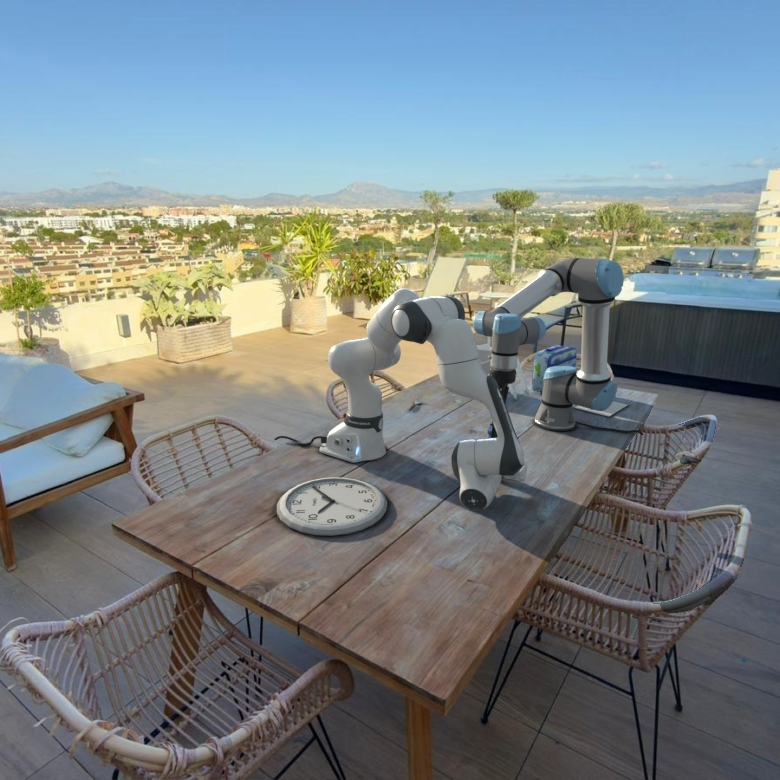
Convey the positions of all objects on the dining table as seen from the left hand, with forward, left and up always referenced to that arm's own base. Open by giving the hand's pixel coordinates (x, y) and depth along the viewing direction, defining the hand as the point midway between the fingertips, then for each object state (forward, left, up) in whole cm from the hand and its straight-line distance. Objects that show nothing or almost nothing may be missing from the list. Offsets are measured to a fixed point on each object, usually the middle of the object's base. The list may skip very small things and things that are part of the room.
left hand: (496, 456), depth 160 cm
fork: (-44, +51, -6) cm, 68 cm away
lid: (0, -1, +9) cm, 9 cm away
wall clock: (-37, -37, -6) cm, 52 cm away
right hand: (0, -1, +5) cm, 5 cm away
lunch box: (+7, +100, -6) cm, 101 cm away
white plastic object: (-24, +82, -6) cm, 86 cm away
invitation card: (+29, +84, -6) cm, 90 cm away
